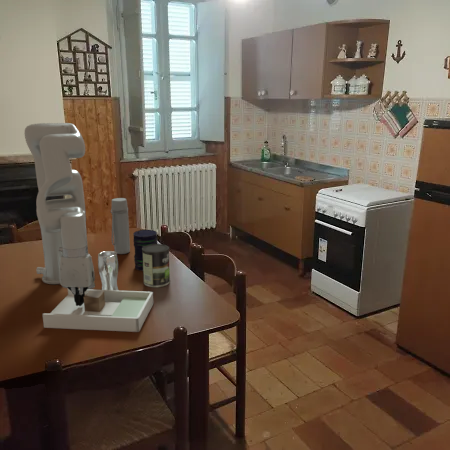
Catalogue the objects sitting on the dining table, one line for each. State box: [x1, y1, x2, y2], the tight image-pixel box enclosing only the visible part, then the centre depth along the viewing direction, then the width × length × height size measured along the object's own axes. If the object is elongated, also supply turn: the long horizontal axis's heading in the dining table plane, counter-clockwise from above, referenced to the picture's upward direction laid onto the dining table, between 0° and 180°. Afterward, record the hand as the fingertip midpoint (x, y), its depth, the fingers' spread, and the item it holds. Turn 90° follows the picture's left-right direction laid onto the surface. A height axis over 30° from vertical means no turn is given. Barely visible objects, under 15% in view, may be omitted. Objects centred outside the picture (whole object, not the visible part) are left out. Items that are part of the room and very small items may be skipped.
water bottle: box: [110, 197, 131, 255], centre depth 202 cm, size 9×8×25 cm
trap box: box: [42, 288, 155, 333], centre depth 146 cm, size 30×20×4 cm, turn 86°
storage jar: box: [132, 229, 159, 272], centre depth 187 cm, size 10×10×15 cm
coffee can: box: [142, 243, 171, 288], centre depth 171 cm, size 10×10×14 cm
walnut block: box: [84, 291, 105, 312], centre depth 145 cm, size 5×5×5 cm
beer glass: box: [97, 250, 119, 290], centre depth 161 cm, size 7×7×15 cm
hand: (80, 304), depth 146 cm, fingers closed
